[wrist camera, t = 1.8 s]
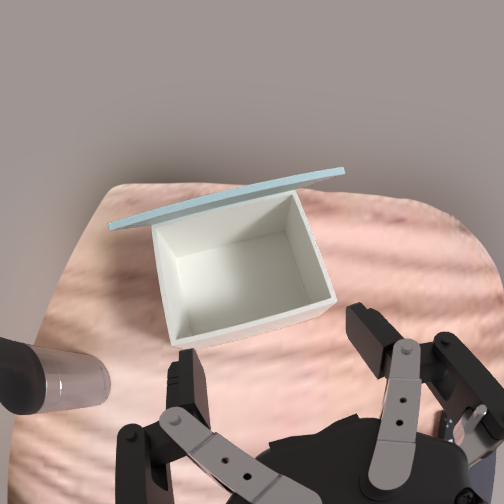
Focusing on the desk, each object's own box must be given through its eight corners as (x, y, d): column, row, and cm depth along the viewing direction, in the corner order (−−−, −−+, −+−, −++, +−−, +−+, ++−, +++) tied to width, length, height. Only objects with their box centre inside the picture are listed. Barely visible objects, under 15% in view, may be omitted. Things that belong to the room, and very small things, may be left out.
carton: (192, 350, 42) (171, 345, 30) (173, 257, 47) (151, 225, 36) (316, 317, 43) (337, 301, 32) (286, 229, 49) (294, 189, 38)
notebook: (485, 509, 23) (492, 446, 31) (489, 510, 21) (496, 447, 29) (446, 537, 22) (451, 476, 30) (449, 539, 21) (455, 477, 29)
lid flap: (109, 230, 20) (107, 223, 20) (151, 225, 36) (150, 220, 36) (345, 173, 22) (343, 166, 22) (294, 189, 38) (293, 185, 38)
